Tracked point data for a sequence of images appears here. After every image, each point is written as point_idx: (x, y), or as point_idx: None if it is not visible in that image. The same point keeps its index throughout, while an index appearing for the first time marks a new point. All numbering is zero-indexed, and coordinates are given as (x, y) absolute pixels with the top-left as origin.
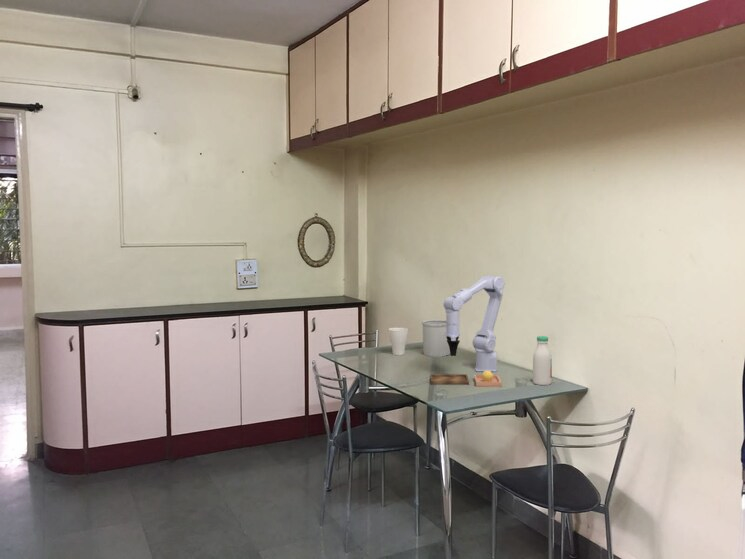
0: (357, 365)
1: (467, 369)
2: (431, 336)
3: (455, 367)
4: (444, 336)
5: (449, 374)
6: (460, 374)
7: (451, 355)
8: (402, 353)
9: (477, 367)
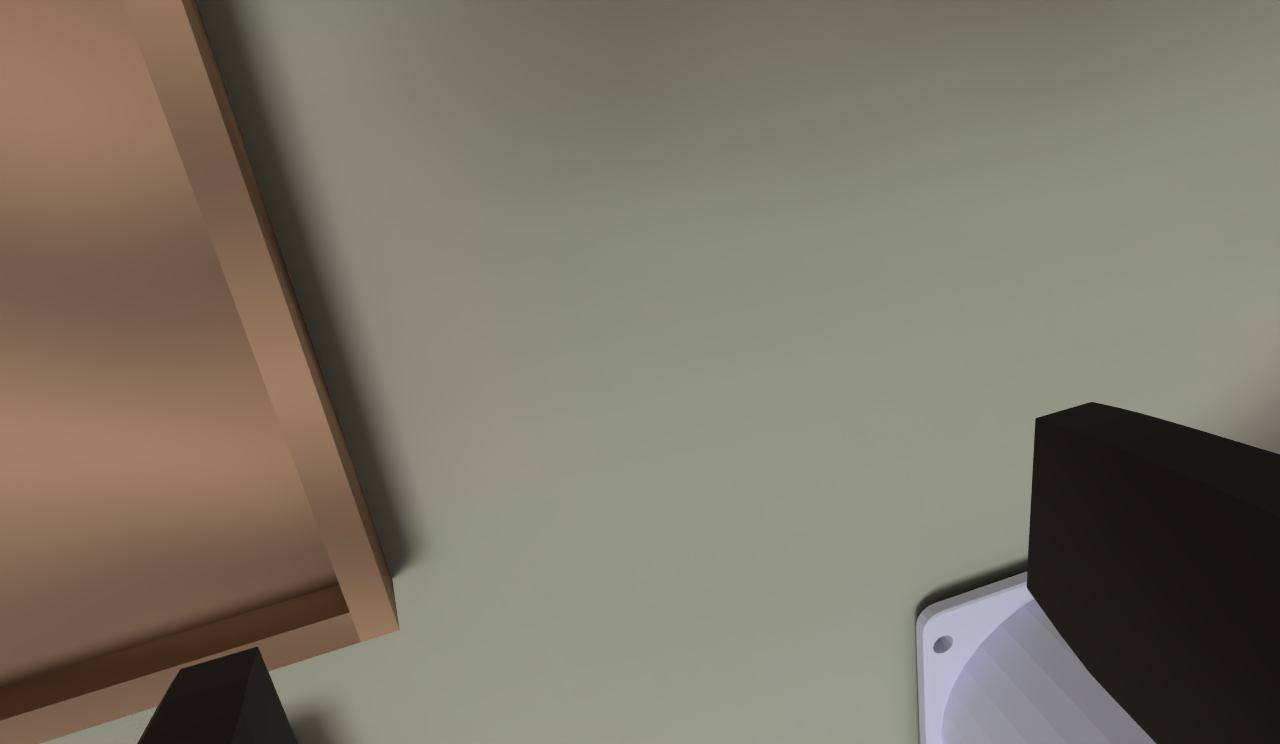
0: None
1: None
2: None
3: (1275, 152)
4: None
5: (236, 239)
6: (337, 507)
7: (172, 706)
8: None
9: (1032, 642)
